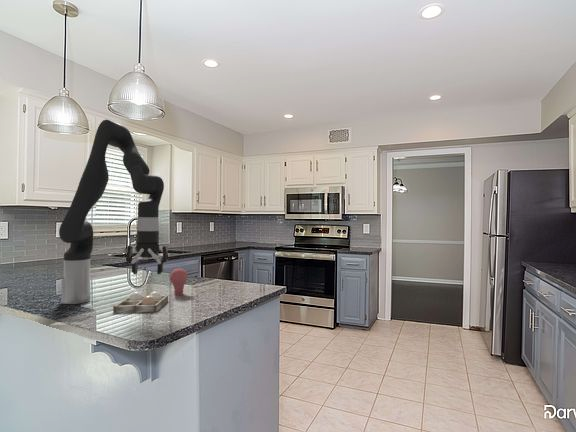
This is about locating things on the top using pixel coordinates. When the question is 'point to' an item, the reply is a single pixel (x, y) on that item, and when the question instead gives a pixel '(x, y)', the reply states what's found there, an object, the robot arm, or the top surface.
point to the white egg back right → (155, 295)
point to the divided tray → (138, 306)
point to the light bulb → (178, 280)
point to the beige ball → (148, 300)
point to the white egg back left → (136, 296)
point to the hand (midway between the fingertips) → (147, 273)
